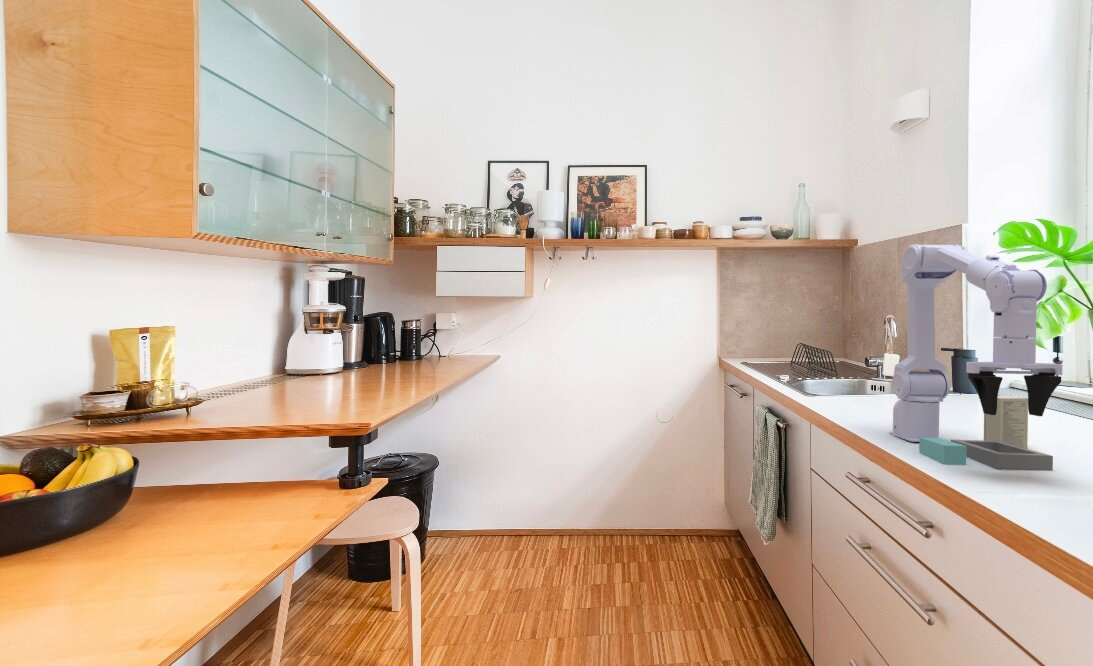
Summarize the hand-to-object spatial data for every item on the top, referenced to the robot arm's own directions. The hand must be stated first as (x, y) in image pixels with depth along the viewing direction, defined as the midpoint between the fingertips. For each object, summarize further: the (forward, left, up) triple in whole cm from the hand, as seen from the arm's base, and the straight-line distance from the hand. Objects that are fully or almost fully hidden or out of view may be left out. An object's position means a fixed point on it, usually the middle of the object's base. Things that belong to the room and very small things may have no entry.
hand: (1012, 414), depth 95 cm
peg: (-12, -4, -11) cm, 17 cm away
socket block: (-12, +6, -11) cm, 18 cm away
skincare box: (-21, +14, -11) cm, 28 cm away
